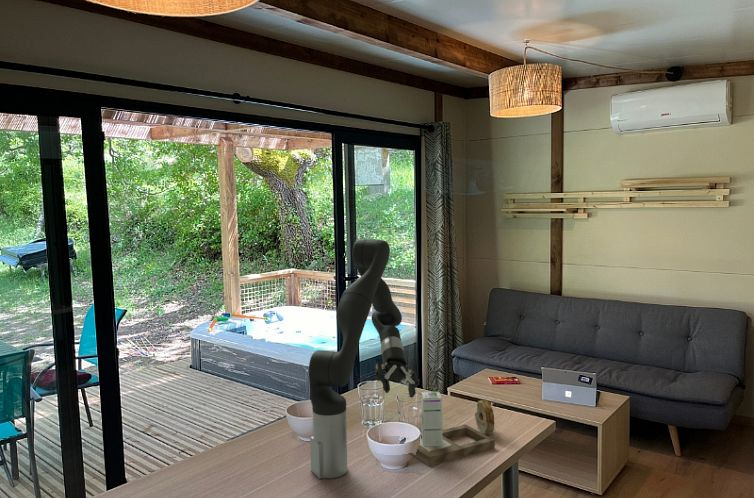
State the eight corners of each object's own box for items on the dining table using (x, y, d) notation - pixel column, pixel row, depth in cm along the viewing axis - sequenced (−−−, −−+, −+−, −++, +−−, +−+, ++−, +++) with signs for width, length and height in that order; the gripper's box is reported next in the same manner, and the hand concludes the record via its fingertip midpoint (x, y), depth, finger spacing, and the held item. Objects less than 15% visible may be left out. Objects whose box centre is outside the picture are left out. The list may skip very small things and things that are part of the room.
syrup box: (443, 446, 164) (443, 397, 163) (422, 446, 164) (422, 397, 163) (440, 438, 169) (440, 391, 168) (421, 438, 169) (420, 391, 168)
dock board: (429, 466, 158) (428, 456, 157) (402, 447, 170) (402, 438, 170) (494, 448, 169) (494, 439, 169) (465, 432, 181) (465, 423, 181)
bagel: (496, 438, 176) (496, 406, 175) (485, 438, 176) (485, 407, 175) (485, 425, 186) (485, 395, 186) (474, 426, 186) (474, 396, 185)
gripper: (378, 342, 183) (384, 382, 171) (417, 350, 188) (426, 390, 175) (368, 356, 187) (374, 397, 175) (407, 364, 192) (415, 404, 179)
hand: (400, 393), depth 175 cm, fingers open, 8 cm apart
